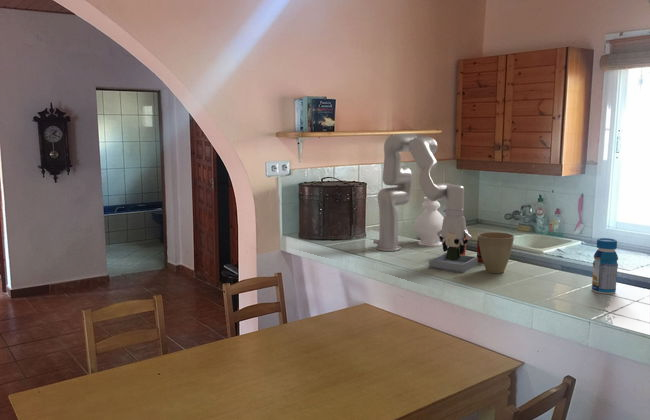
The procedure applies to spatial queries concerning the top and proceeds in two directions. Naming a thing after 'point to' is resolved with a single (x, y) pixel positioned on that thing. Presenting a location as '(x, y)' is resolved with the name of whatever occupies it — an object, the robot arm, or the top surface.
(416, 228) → the decorative vase
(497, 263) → the plant pot
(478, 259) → the canned food
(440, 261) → the grey bin
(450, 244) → the character mug
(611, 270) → the beverage bottle
